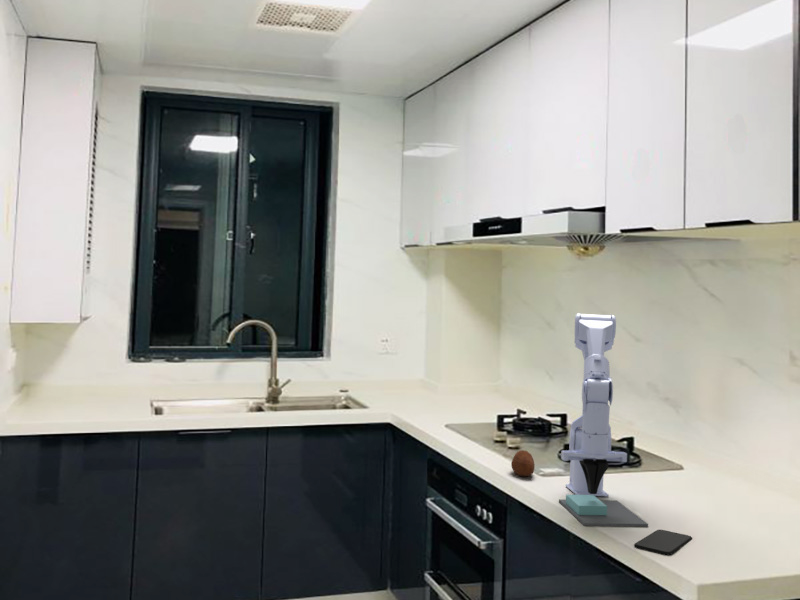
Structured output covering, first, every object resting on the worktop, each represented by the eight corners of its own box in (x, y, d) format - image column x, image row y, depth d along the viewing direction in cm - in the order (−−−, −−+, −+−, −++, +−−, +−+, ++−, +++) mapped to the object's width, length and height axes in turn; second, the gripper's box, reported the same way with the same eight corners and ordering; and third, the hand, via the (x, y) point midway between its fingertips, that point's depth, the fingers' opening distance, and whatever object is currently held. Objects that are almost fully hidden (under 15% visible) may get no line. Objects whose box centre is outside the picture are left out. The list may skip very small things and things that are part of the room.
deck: (592, 503, 181) (565, 503, 181) (593, 495, 181) (566, 494, 181) (606, 515, 172) (578, 515, 172) (607, 506, 172) (578, 505, 172)
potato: (517, 480, 203) (518, 455, 203) (506, 469, 215) (507, 446, 215) (539, 480, 204) (541, 455, 204) (527, 470, 216) (528, 446, 215)
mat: (558, 502, 184) (559, 499, 184) (616, 503, 185) (616, 500, 185) (584, 525, 166) (584, 523, 166) (648, 526, 167) (648, 524, 167)
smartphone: (694, 536, 161) (670, 553, 149) (693, 540, 161) (670, 557, 149) (658, 528, 165) (632, 544, 153) (657, 532, 165) (632, 548, 153)
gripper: (569, 435, 171) (566, 497, 172) (633, 436, 173) (630, 498, 173) (559, 429, 178) (556, 488, 179) (621, 430, 180) (618, 489, 180)
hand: (592, 492), depth 176 cm, fingers closed
